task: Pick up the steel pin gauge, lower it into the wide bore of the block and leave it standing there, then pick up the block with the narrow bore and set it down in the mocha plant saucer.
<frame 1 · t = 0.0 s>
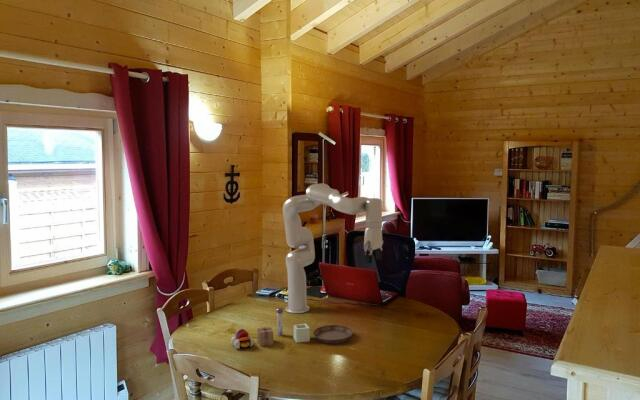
hand: (373, 261, 247), 31 cm above the table, tool pointing down, fingers open, 9 cm apart
pin gauge: (280, 335, 239), on the table
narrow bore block: (265, 342, 230), on the table
wide bore block: (301, 339, 234), on the table
plant saucer: (333, 338, 236), on the table
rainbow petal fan: (242, 346, 228), on the table
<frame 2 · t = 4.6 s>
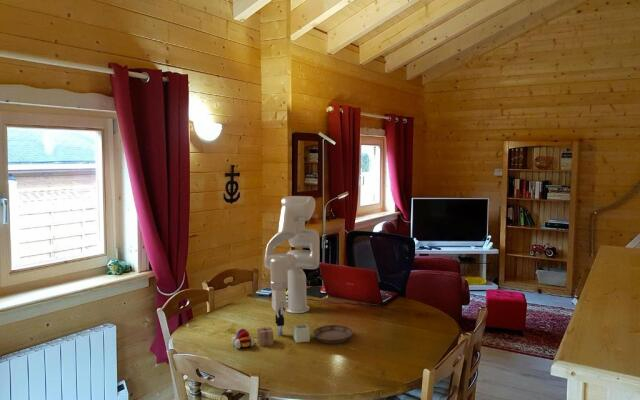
hand: (279, 324, 238), 5 cm above the table, tool pointing down, fingers closed on pin gauge, 2 cm apart
pin gauge: (280, 335, 239), on the table, touching gripper
everything else where it was.
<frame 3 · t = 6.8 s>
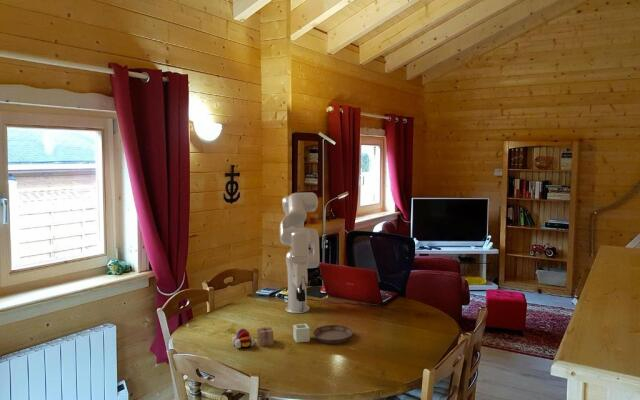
hand: (300, 299, 232), 18 cm above the table, tool pointing down, fingers closed on pin gauge, 2 cm apart
pin gauge: (300, 311, 232), point 13 cm above the table, touching gripper
everything else where it was.
when the fingers open (7 cm above the table, at t = 8.8 s): pin gauge drops 2 cm, resting in wide bore block.
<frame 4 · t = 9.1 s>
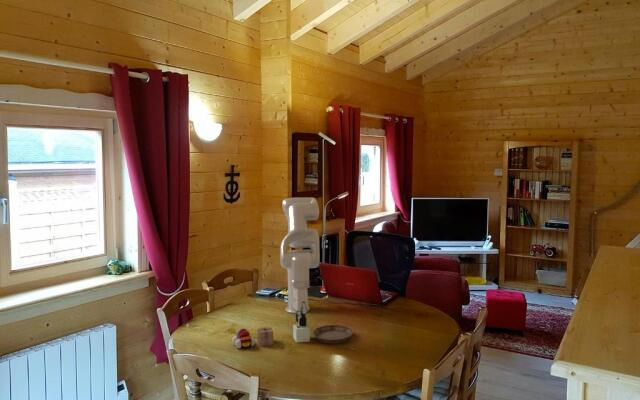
hand: (301, 323, 233), 7 cm above the table, tool pointing down, fingers open, 5 cm apart
pin gauge: (301, 339, 234), resting in wide bore block
everything else where it was.
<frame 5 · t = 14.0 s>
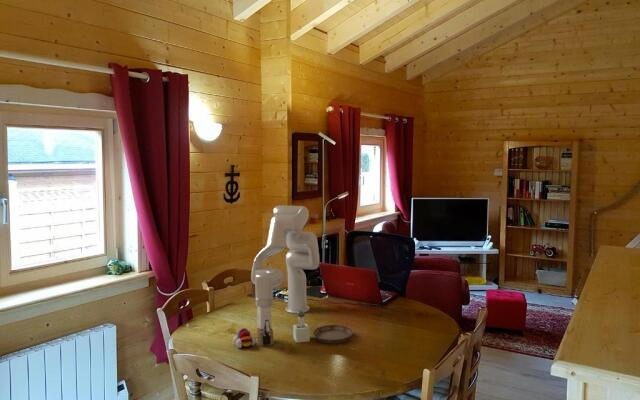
hand: (265, 341, 230), 1 cm above the table, tool pointing down, fingers closed on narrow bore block, 6 cm apart
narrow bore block: (265, 342, 230), on the table, touching gripper
when the fingers open (3 cm above the table, at t = 20.8 s): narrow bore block stays where it is, resting on plant saucer.
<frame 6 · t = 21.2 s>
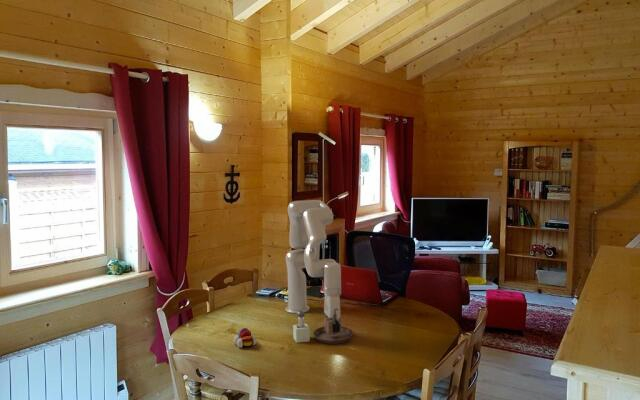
hand: (332, 328, 235), 4 cm above the table, tool pointing down, fingers open, 9 cm apart
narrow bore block: (332, 332, 235), point 2 cm above the table, touching plant saucer
plant saucer: (333, 339, 236), on the table, touching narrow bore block
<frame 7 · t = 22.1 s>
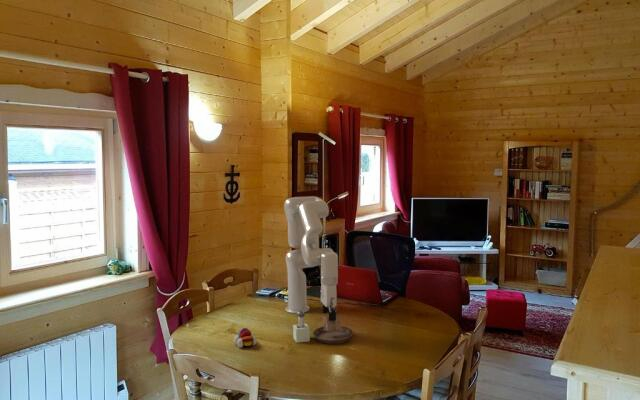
hand: (329, 316, 237), 9 cm above the table, tool pointing down, fingers open, 9 cm apart
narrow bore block: (332, 330, 235), point 3 cm above the table, tilted 16°, touching gripper, plant saucer
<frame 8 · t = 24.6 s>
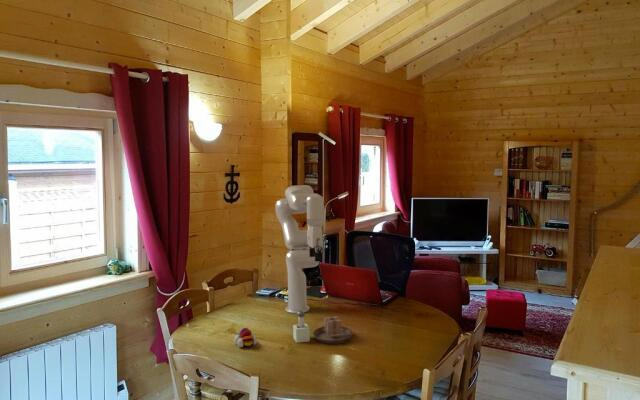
hand: (315, 258, 243), 33 cm above the table, tool pointing down, fingers open, 9 cm apart
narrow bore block: (332, 332, 235), point 2 cm above the table, touching plant saucer
at the end: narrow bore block inside the target area in the plant saucer (0.1 cm from its centre), point 3.2 cm above the plant saucer's base; pin gauge 0.1 cm from the wide bore block (horizontally); the gripper is holding nothing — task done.
